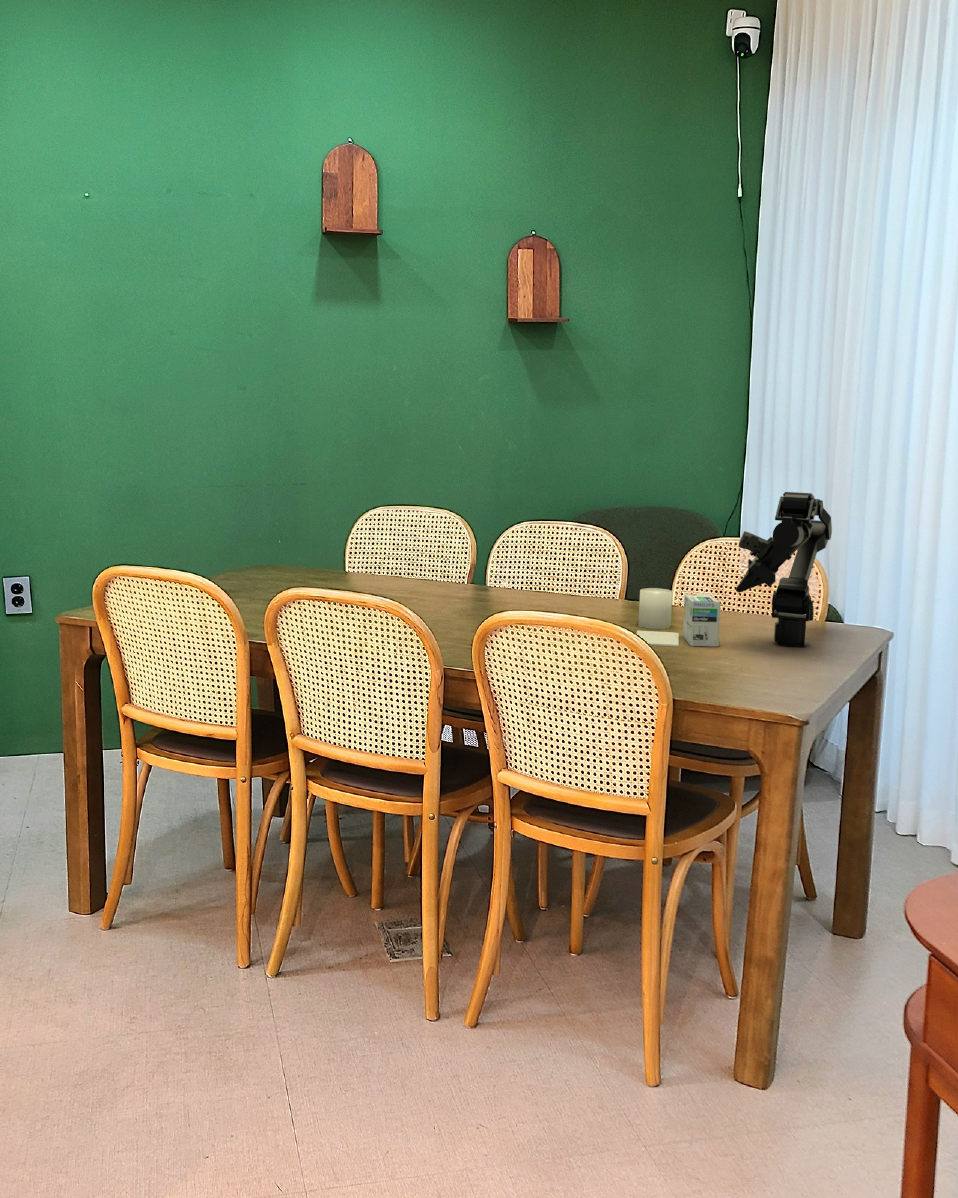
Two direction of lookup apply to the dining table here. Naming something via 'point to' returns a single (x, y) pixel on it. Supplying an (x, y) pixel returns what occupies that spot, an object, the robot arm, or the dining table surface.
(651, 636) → the mat
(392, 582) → the dining table surface
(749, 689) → the dining table surface
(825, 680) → the dining table surface
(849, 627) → the dining table surface
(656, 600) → the cream rounded cylinder
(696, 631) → the light bulb box
